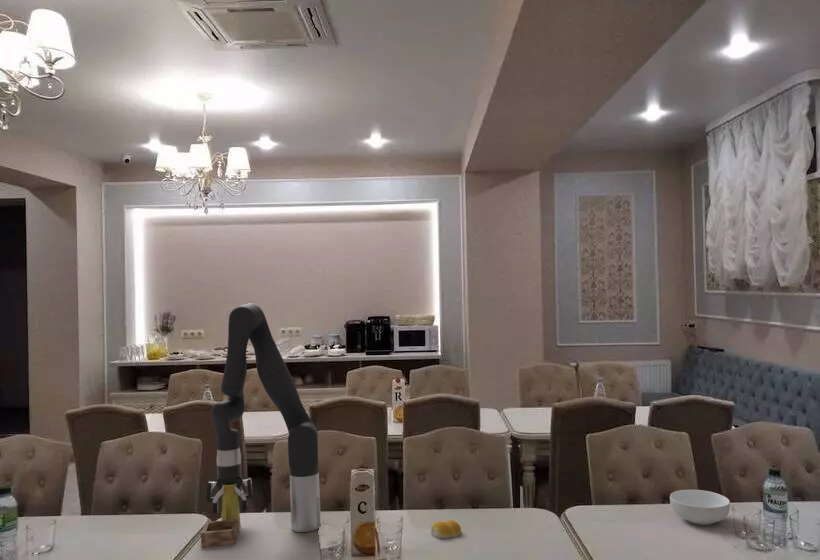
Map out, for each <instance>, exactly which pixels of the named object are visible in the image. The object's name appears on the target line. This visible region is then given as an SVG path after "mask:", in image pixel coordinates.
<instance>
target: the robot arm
mask: <svg viewBox="0 0 820 560" xmlns="http://www.w3.org/2000/svg"><path fill="white" fill-rule="evenodd" d="M228 317H229V318H228V325H227V326H228V330H227V331H228V333H227V334H228V335H227V336H228V337H227V351H226V359H225V366H224V371H223V375H222V376H223V377H222V381H221V388H220V391H221V393H222V394H223V395H224V396H227V397H228V399H227V400H223V401H219V402H216V403H215V404H214V405H213V406H212V408H211V411H210V418H211V422H212V424H213V428H214V432H215V435H216V443H217V445H216V449H217V452H216V476H217V477H216V479H217V480H216V481H212V480H209V481H208V482H207V484H206V502H207V503H209V502H210V503H212V512H213V513H214V514H215V516H216V515H217V516H218V514H219V501H218V500H219V499H220V497H222V493H223V490H224V486H223V487H222V484H223V485H232V484H235V483H237V486H234V489H235V492H236V493H237V494H238V497H240V498H241V500H242V501H241V502H242V507H241V508H242V513H245V512H246V511H247V509H248V500H249V499H252V498H253V495H254V493H253V492H254V491H253V482H252V478H251V477H248V478H245V479H243V477H242V455H241V447H240V446H241V444H240V443H241V441H240V432H239V430H238V429H235V428H231V426H230V423H231V422H237V421H239V420H240V419H241V418H242V416H244V412H245V395H244V388H245V382H246V378H247V371H248V369H247V368H248V362H247V348H248V343H249V341H250V343H251V346H252V348H253V351H254V356H255V358H254V359H255V365H256V371H257V375H258V378H259V380H260V382H261V384H262V387H263V388H264V391H265V392H266V393H267V396H268V398H269V399H270V400H271V401H272V403H273V404H274V406H275V407H276V408H277V410H278V411H279V412H280V414H281V416H282V417H283V418H282V419H283V420H284V424H285V426H286V428H287V433H288V437H287V451H288V453H287V454H288V468H289V490H290V491H289V494H290V497H289V498H290V523H291V527H290V528H291V530H292V531H293V532H296V533H307V532H313V531H316V530H319V529H318V528H319V527H320V525H321V526H322V524H321V523H322V522H321V521H322V520H321V517H322V515H321V497H320V477H319V476H320V473H319V472H320V471H319V470H320V464H319V447H318V446H319V445H318V444H319V441H318V440H319V438H318V437H319V432H318V429H317V427H316V426H315V423H314V422H313V420H312V419H311V418H310V415H309V414H308V413H307V410H306V409H305V407H304V405H303V403H302V401H301V398H300V395H299V392H298V390H297V387H296V385H295V382H294V380H293V377H292V375H291V373H290V370H289V368H288V366H287V364H286V363H285V361H284V359H283V357H282V355H281V352H280V350H279V348H278V346H277V344H276V342H275V339H274V338H273V335H272V332H271V329H270V327H269V324H268V321H267V317H266V315H265V313H264V311H263V309H262V308H261V307H260V306H259V305H258V304H256V303H252V302H249V303H245V304H242V305H238V306H236V307H235V308H233V309H232V311H231V312H230V314H229V316H228ZM243 484H244V486H245V487H247V493H246V492H245V491H244V490H243V489H242V486H243ZM215 487H217V489H218V492H217V493H216V494H215V495H214V496H213V495H212V494H213V492H212V491H213V489H214V488H215Z"/></svg>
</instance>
